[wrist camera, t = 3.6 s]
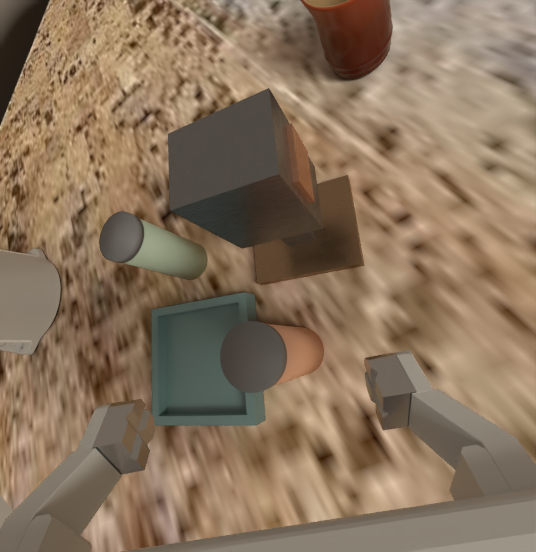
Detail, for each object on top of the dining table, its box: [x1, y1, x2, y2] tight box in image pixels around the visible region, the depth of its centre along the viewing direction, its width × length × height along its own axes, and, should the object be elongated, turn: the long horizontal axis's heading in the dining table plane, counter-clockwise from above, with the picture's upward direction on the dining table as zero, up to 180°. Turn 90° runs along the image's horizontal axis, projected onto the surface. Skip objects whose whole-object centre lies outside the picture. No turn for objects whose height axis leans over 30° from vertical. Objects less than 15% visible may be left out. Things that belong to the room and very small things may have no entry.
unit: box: [168, 88, 364, 285], centre depth 28 cm, size 12×10×18 cm
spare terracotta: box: [220, 321, 324, 393], centre depth 29 cm, size 5×5×12 cm
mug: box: [301, 0, 393, 79], centre depth 33 cm, size 12×9×10 cm
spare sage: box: [99, 211, 207, 280], centre depth 37 cm, size 5×5×12 cm
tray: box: [151, 292, 265, 425], centre depth 38 cm, size 14×14×2 cm
